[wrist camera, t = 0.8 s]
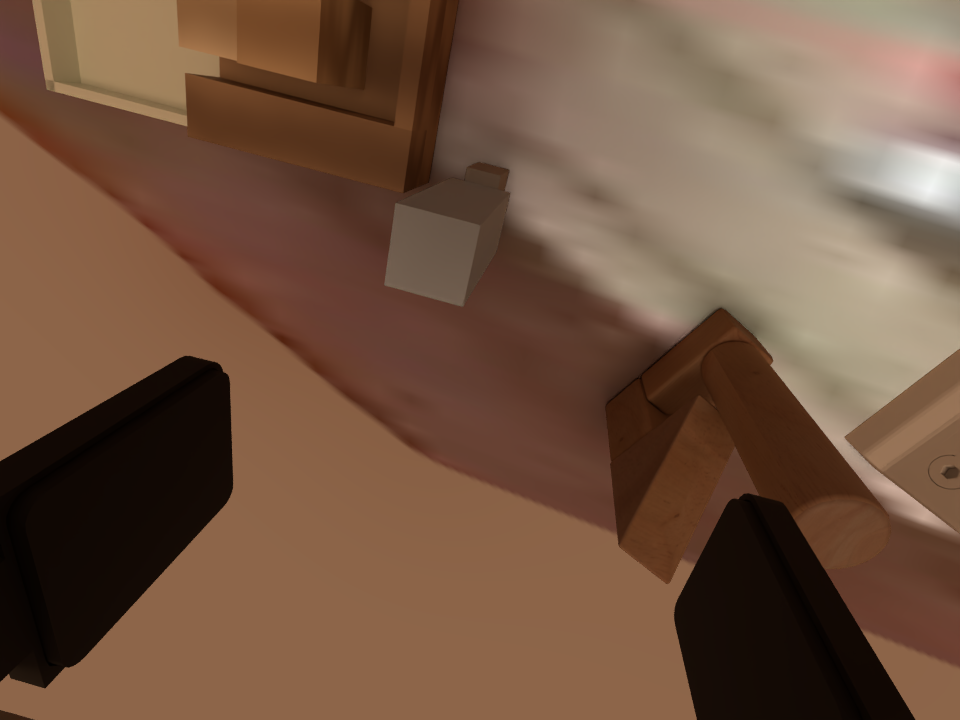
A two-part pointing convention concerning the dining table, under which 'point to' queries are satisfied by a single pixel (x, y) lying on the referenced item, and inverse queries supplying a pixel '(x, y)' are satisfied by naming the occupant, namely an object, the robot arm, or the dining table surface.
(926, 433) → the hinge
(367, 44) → the oak block
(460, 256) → the square grey bottle
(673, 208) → the dining table surface
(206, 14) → the birch block
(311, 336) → the dining table surface
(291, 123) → the groove board
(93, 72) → the tray
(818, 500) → the tan angled rod fixture
